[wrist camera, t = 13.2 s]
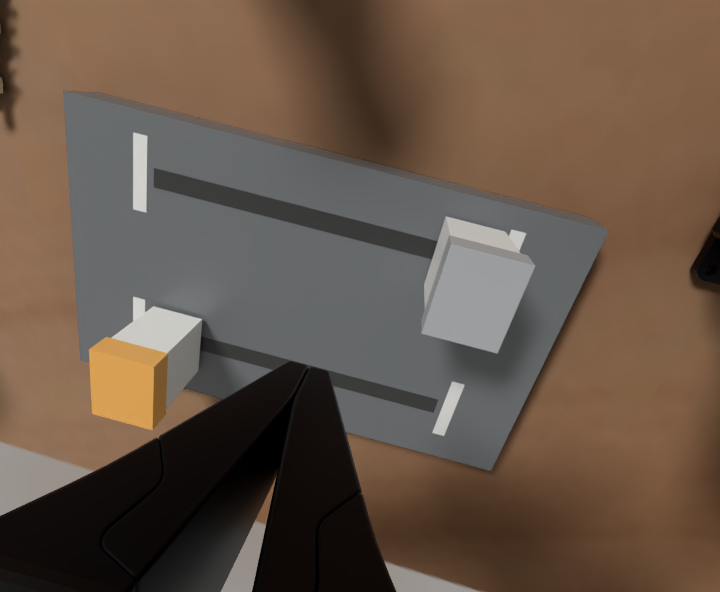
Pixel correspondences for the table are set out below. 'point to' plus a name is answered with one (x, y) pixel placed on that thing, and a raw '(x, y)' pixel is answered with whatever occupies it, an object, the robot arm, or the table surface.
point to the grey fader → (473, 285)
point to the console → (307, 269)
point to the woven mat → (0, 82)
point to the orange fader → (144, 367)
